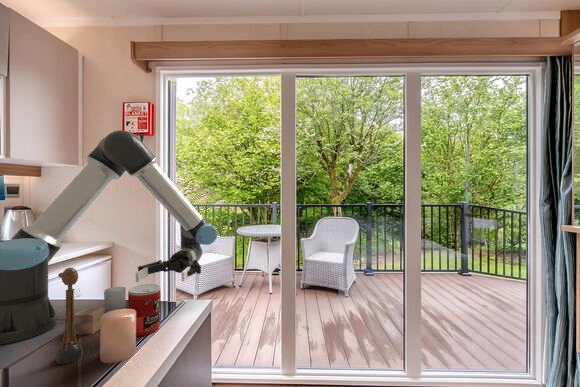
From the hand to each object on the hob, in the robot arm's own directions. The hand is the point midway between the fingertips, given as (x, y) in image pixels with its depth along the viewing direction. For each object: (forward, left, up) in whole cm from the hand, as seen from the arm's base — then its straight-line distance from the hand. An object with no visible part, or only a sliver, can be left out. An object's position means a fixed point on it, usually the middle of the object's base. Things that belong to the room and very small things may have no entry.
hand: (159, 277), depth 89 cm
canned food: (+4, -9, -11) cm, 15 cm away
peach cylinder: (+9, -20, -11) cm, 25 cm away
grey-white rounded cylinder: (-13, -4, -11) cm, 18 cm away
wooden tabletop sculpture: (0, -26, -11) cm, 28 cm away
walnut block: (-9, -15, -11) cm, 21 cm away
